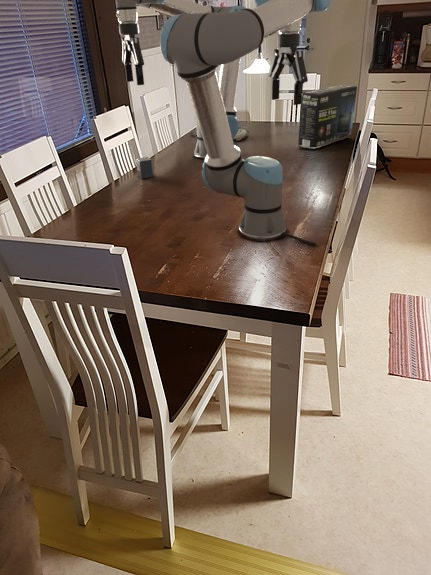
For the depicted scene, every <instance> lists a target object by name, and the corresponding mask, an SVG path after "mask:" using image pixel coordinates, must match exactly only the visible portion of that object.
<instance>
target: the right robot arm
mask: <svg viewBox="0 0 431 575" xmlns="http://www.w3.org/2000/svg"><path fill="white" fill-rule="evenodd" d="M331 3H332V0H254V4H255V7H254V8H250V7H246V8H245V9H242V10H240V11H237V12H225V13H194V14H188V13H183V14H179V15H174V16H170V17H169V18H168V19H166V21H165V22H164V24H163V26H162V29H161V33H160V37H159V48H160V52H161V56H162V58H163V59H164V60H165V61H166V62H168V63H169V64H171V65H172V66H174V67H175V70H176V73H177V77H178V78H179V79H181V80H183V81H185V84H186V87H187V90H188V93H189V96H190V101H191V103H192V107H193V111H194V113H195V118H196V117H197V120H198V123H199V127H200V130H201V133H202V137H203V140H204V143H205V146H206V150H207V153H208V154H207V155H206V157H205V159H204V161H203V163H202V167H201V168H202V170H201V177H202V180H203V183H204V185H205V186H206V188H208V189H209V190H211V191H213V192H216V193H220V194H224V195H227V196H228V195H229V196H232V197H237V198H242V199H243V200H244V211H243V213H242V216H241V220H240V222H239V226H238V232H239V235H240V236H241V237H242V238H244V239H247V240H250V241H254V242H271V241H277V240H279V239H281V238H283V237H287V238H290V239H293V240H294V241H297V242H301V243H303V244H305V245H306V244H307V245H310V246H314V247H315V246H317V242H314V241H310V240H307V239H304V238H301V237H298V236H296V235H293V234H290V233H287V223H286V221H285V216H284V214H283V210H282V200H283V183H284V174H283V173H284V172H283V171H284V169H283V166H282V164H281V163H280V162H279V161H278V160H277V159H274V158H272V157H268V156H264V155H262V156H260V155H254V156H253V155H252V156H249V157H247V158H245V159H243V155H242V152H241V151H242V150H241V149H240V147H238V146H236V145H235V144H234V143H235V142H234V139H232V135H231V131H230V127H229V123H228V119H227V115H226V111H225V107H224V103H223V99H222V96H221V92H220V88H219V84H218V75H217V70H218V68H219V67H220V65H223V64H226V63H229V62H232V61H234V60H237V59H239V58H241V59H242V58H243V57H245V56H246V55H248V54H250V53H253V52H254V51H255V50H257V49H259V48H260V47H261V46H262V45H263V43H264V41H265V40H266V39H268V38H270V37H271V36H273V35H274V34H276V33H278V34H277V36H276V47H277V48H274V50H273V56H272V60H271V64H270V67H269V69H268V70H269V71H268V74H267V76H268V78H270V80H271V100H272V101H275V100H280V81H281V80H280V79H281V78H280V76H281V73H282V72H283V70H284V67H285V66H288V67H289V68H290V70H291V73H292V76H293V78H294V86H293V103H292V104H293V106H299V105H301V100H302V93H303V91H304V90H303V89H304V84H305V83H308V81H309V80H308V79H309V78H308V73H307V69H306V64H305V60H304V50H302V49H299V50H298V47H300V45H301V34H300V33H299V32H301V31H302V18H304V17H306V16H307V15H309V14H310V13H314V12H315V13H319V12H325V11H327V10H328V9H329V8H330V6H331Z"/></svg>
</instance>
